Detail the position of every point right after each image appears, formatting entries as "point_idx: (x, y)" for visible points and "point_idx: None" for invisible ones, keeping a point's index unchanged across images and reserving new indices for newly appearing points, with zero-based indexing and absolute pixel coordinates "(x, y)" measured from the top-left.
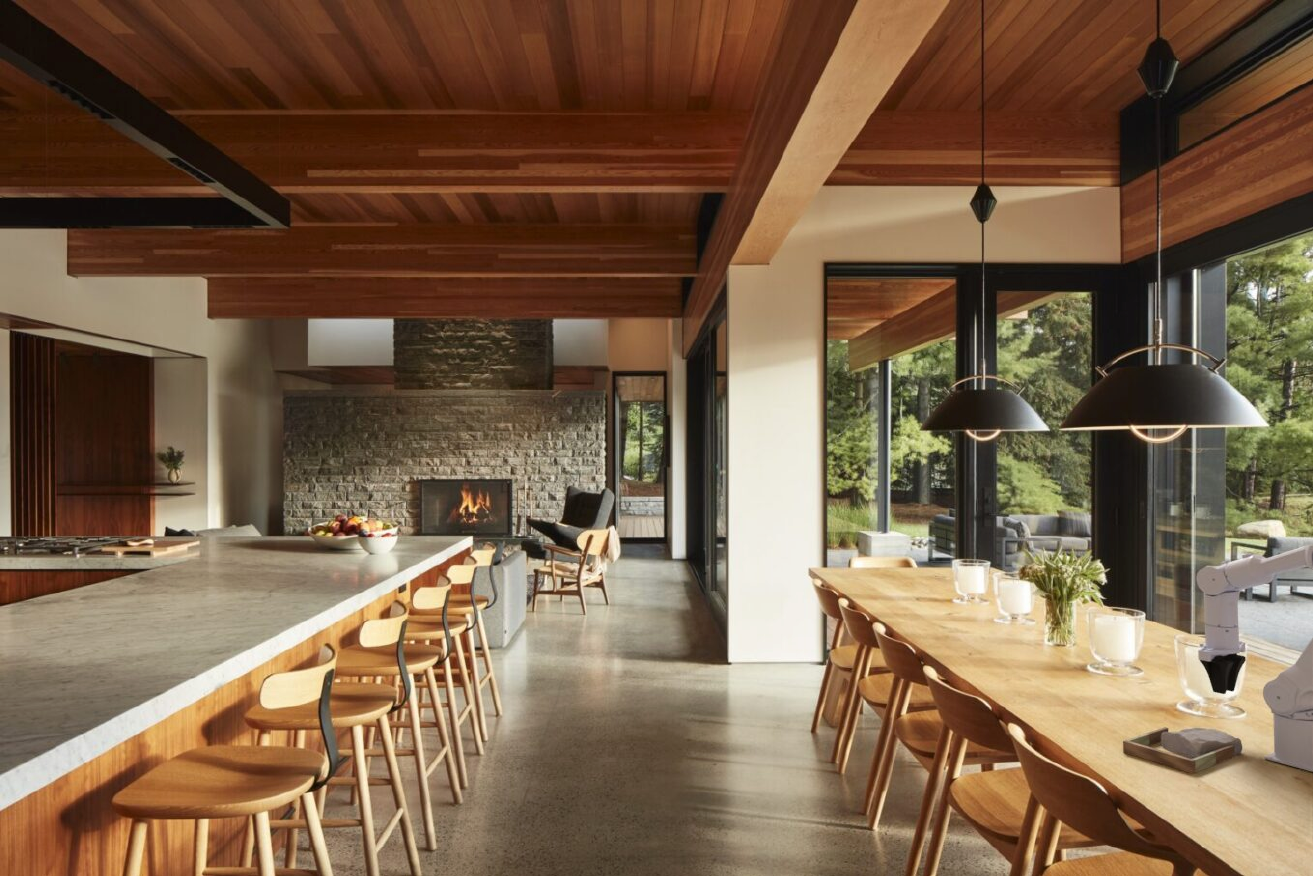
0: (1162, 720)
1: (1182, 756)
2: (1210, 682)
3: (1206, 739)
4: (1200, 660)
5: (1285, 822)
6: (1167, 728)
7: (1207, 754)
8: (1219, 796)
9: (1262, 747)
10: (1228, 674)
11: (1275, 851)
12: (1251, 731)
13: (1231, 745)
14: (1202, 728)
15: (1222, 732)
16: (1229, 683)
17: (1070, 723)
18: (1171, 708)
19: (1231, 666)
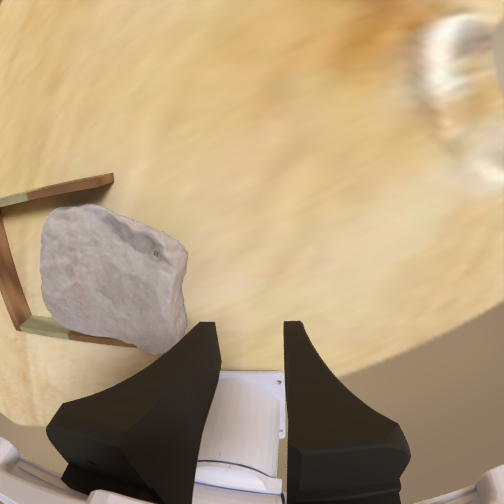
0: (265, 54)
1: (13, 312)
2: (179, 341)
3: (65, 327)
4: (59, 410)
5: (44, 416)
6: (94, 187)
7: (51, 334)
8: (20, 365)
9: (273, 336)
10: (197, 449)
11: (10, 412)
12: (392, 261)
13: (130, 344)
14: (162, 253)
15: (159, 316)
16: (285, 378)
17: (37, 12)
18: (414, 15)
19: (190, 497)
